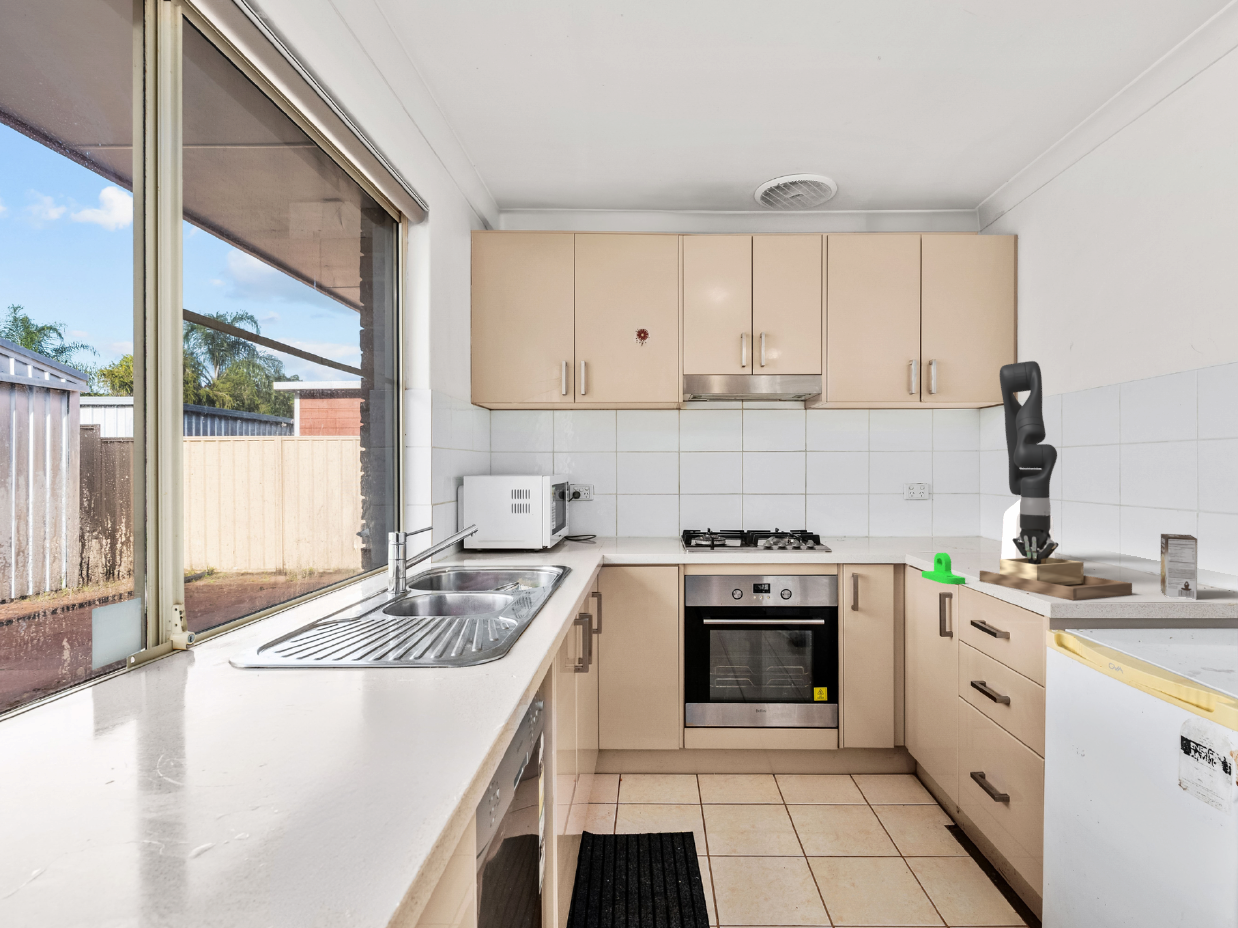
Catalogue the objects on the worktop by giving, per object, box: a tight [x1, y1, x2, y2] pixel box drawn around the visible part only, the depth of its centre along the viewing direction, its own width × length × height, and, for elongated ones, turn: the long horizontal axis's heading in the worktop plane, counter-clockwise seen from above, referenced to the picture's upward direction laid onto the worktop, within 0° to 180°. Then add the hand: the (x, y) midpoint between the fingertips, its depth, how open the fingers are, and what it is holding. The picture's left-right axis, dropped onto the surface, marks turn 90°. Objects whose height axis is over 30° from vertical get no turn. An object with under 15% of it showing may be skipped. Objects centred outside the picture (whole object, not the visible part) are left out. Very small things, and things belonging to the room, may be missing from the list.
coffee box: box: [1160, 533, 1198, 600], centre depth 170 cm, size 9×6×16 cm
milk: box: [1000, 496, 1056, 559], centre depth 206 cm, size 12×12×26 cm
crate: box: [999, 557, 1085, 585], centre depth 184 cm, size 12×18×6 cm, turn 109°
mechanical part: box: [921, 552, 966, 585], centre depth 192 cm, size 12×6×8 cm, turn 7°
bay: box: [979, 570, 1133, 601], centre depth 181 cm, size 28×22×3 cm
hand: (1034, 572), depth 186 cm, fingers closed
